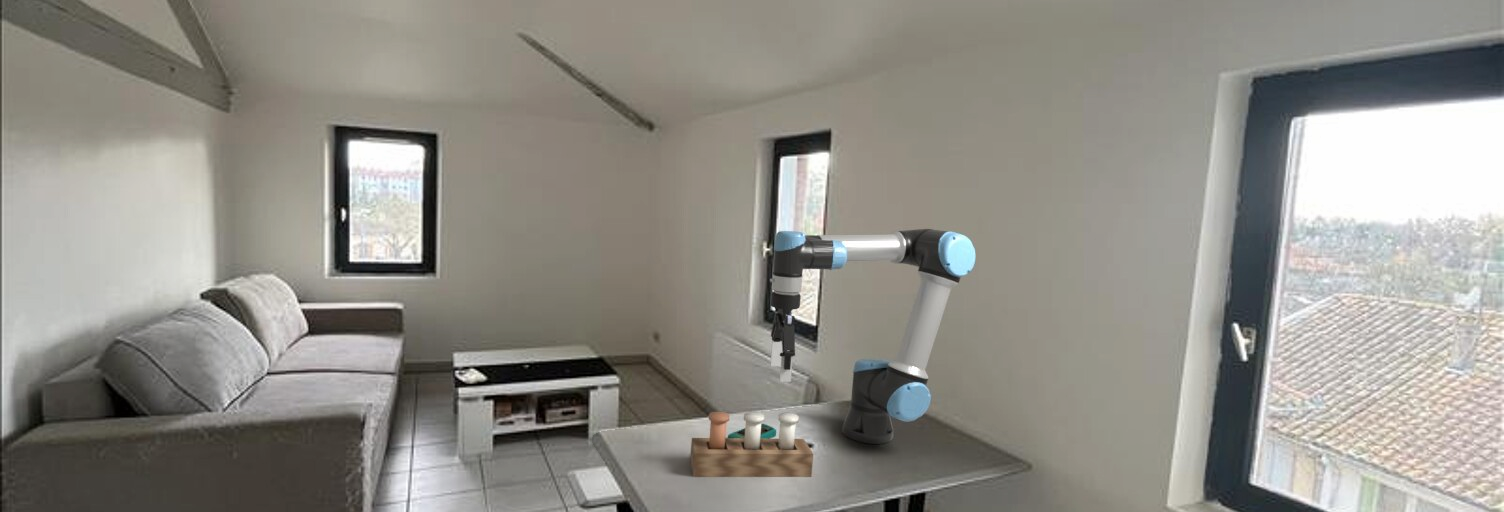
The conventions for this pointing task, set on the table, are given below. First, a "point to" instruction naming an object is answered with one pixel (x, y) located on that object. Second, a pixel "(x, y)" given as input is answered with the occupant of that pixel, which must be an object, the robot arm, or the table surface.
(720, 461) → the board
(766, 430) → the digital multimeter
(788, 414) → the plug near
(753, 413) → the plug mid
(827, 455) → the table surface
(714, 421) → the plug terracotta
